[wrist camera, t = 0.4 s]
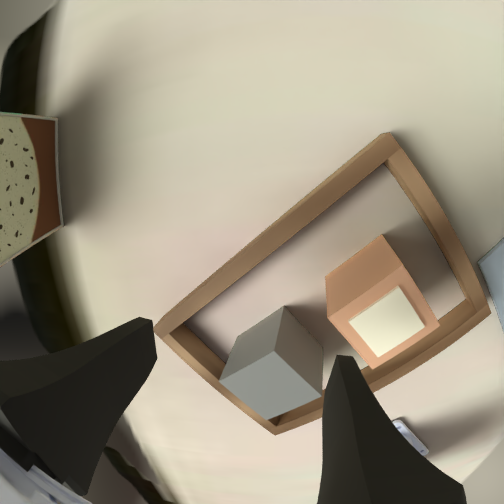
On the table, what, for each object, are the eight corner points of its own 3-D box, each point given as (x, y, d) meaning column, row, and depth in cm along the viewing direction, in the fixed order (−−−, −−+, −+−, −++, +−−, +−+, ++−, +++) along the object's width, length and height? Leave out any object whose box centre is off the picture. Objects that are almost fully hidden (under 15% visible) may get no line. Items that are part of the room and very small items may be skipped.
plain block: (322, 346, 20) (322, 396, 16) (276, 372, 22) (266, 420, 18) (283, 305, 20) (273, 350, 15) (237, 336, 22) (218, 381, 17)
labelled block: (415, 284, 18) (441, 327, 13) (362, 322, 19) (372, 371, 14) (381, 233, 17) (403, 266, 12) (325, 276, 19) (327, 320, 14)
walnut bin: (479, 299, 17) (491, 313, 15) (278, 419, 24) (274, 435, 22) (381, 133, 15) (389, 132, 13) (163, 316, 22) (151, 329, 20)
